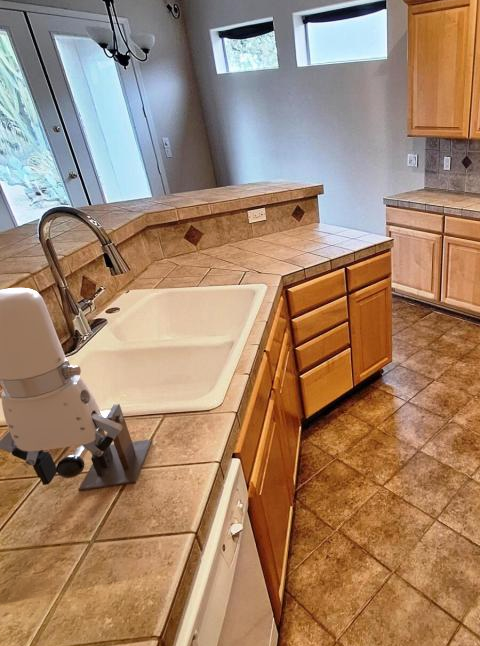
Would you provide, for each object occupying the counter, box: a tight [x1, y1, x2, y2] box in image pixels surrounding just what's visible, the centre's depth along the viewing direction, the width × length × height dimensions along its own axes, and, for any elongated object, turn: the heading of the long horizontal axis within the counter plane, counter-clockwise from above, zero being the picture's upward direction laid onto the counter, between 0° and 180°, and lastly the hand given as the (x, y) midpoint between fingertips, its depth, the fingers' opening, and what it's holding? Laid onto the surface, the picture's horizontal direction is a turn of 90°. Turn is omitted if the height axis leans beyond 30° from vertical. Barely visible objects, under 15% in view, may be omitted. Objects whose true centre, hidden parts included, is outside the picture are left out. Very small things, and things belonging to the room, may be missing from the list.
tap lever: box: [56, 409, 111, 479], centre depth 71 cm, size 16×3×3 cm, turn 14°
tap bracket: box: [77, 403, 154, 493], centre depth 79 cm, size 12×9×13 cm
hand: (77, 473), depth 67 cm, fingers open, 6 cm apart
